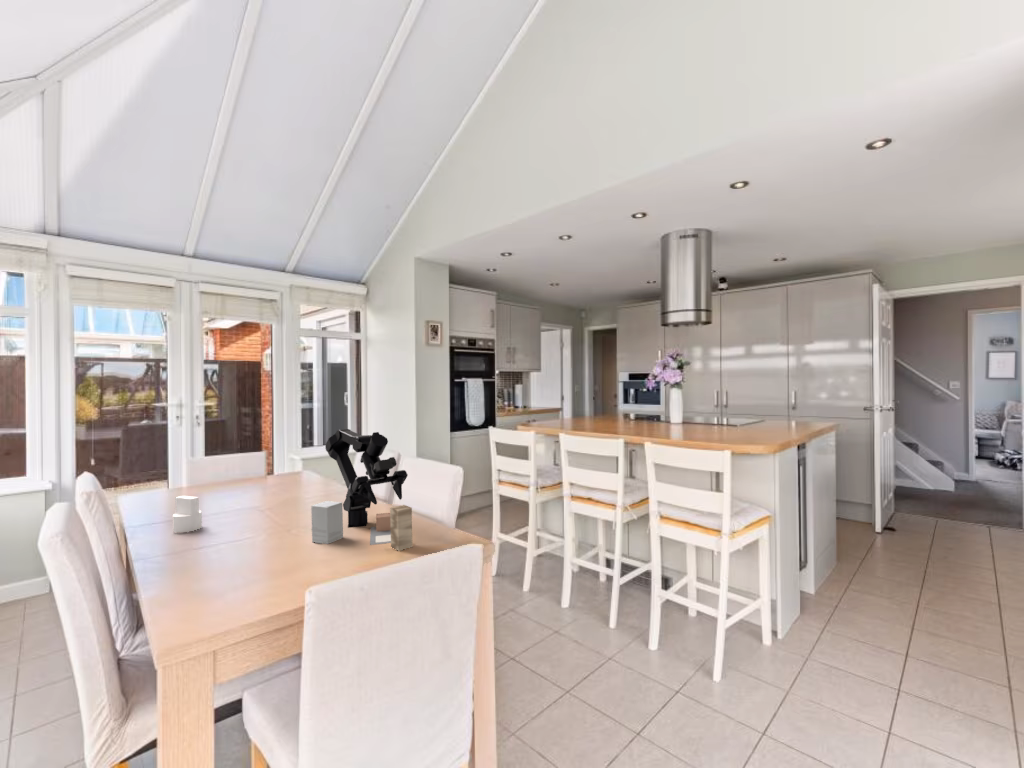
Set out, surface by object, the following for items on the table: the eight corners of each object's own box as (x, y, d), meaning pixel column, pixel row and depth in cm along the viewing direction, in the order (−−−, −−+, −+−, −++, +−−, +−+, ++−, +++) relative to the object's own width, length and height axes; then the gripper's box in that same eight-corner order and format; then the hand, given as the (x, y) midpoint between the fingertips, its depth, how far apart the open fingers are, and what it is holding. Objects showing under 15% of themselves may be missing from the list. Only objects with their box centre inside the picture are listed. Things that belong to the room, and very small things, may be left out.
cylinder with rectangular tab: (167, 531, 176) (166, 499, 176) (191, 524, 184) (190, 493, 184) (183, 534, 173) (182, 501, 173) (207, 527, 181) (206, 495, 181)
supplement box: (343, 538, 165) (343, 502, 165) (327, 545, 159) (326, 507, 159) (328, 535, 169) (327, 500, 168) (311, 542, 162) (310, 505, 162)
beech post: (390, 547, 156) (390, 507, 156) (404, 543, 159) (403, 504, 159) (398, 551, 152) (397, 510, 152) (412, 547, 155) (411, 507, 155)
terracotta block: (376, 531, 171) (376, 517, 171) (376, 527, 176) (376, 513, 176) (390, 530, 173) (390, 516, 173) (390, 526, 177) (390, 512, 177)
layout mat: (369, 546, 157) (369, 544, 157) (370, 528, 177) (370, 526, 177) (400, 542, 160) (400, 541, 160) (398, 525, 179) (398, 524, 179)
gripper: (354, 453, 159) (370, 491, 151) (404, 447, 172) (421, 482, 164) (345, 473, 165) (359, 511, 157) (394, 466, 178) (410, 501, 170)
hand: (388, 501), depth 162 cm, fingers open, 9 cm apart
